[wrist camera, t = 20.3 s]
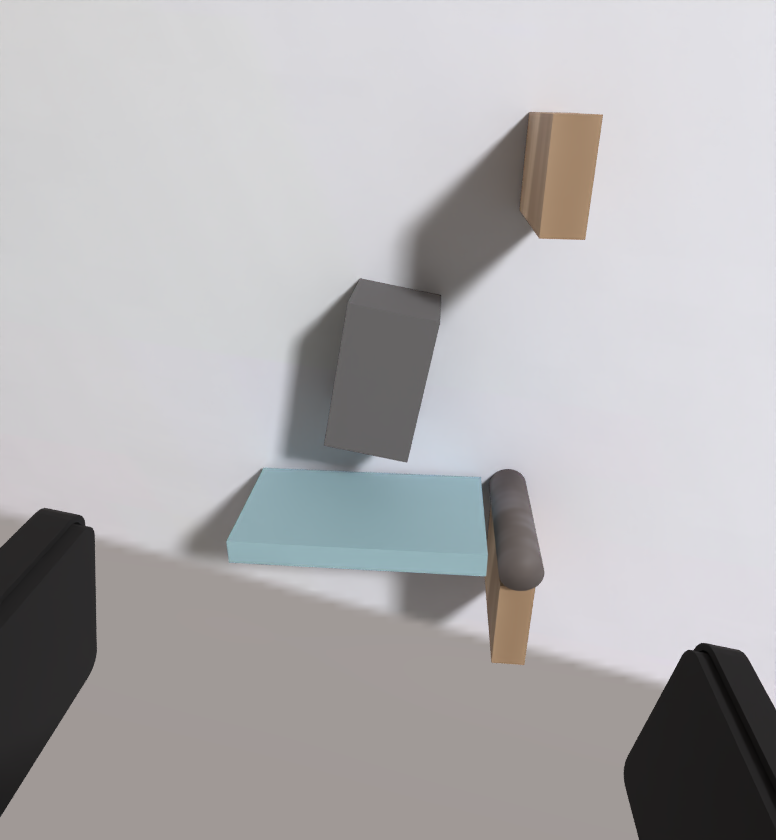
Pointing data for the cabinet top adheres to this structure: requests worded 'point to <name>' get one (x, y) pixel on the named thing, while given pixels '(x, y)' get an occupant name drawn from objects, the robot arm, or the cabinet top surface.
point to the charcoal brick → (382, 369)
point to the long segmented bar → (510, 507)
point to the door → (363, 522)
